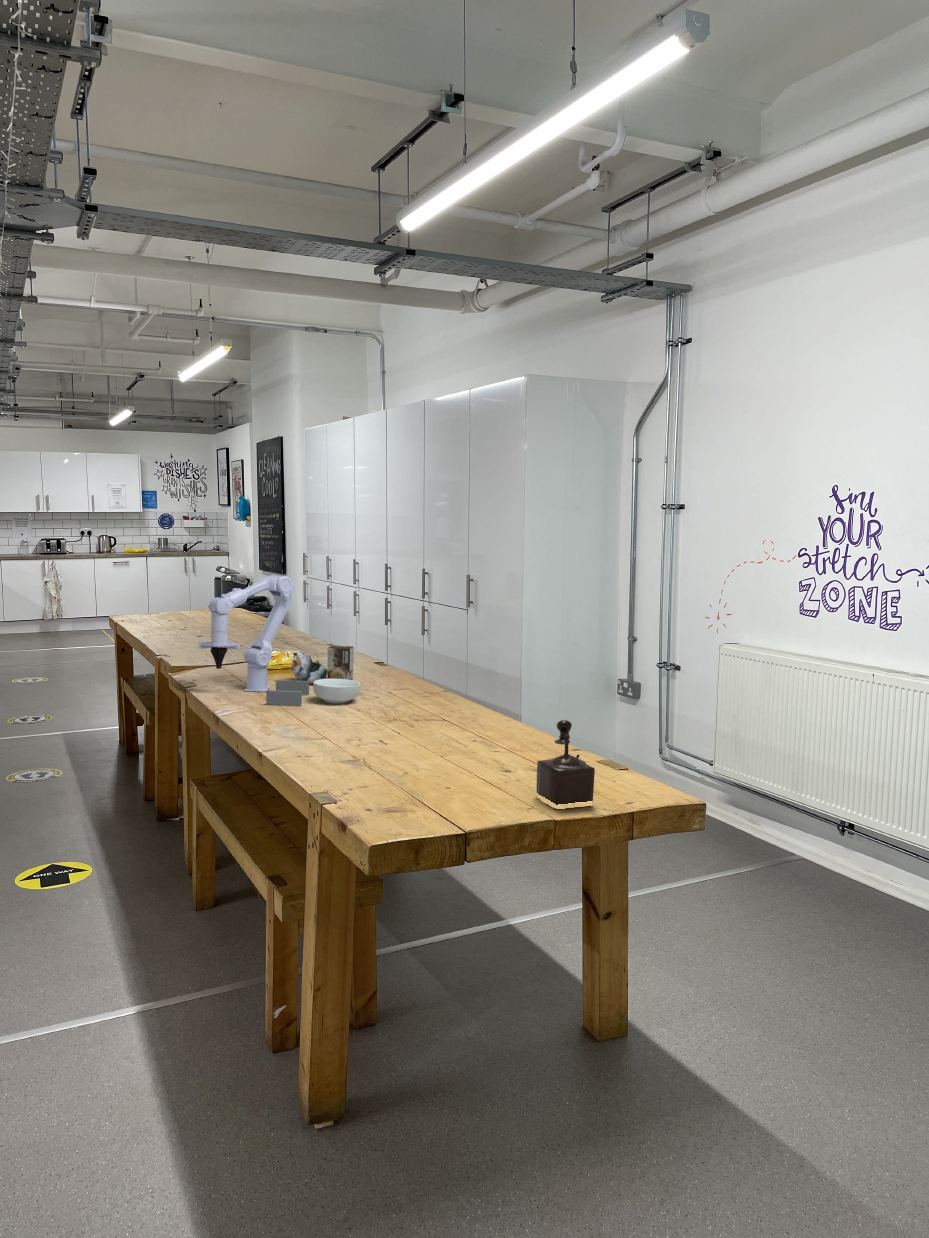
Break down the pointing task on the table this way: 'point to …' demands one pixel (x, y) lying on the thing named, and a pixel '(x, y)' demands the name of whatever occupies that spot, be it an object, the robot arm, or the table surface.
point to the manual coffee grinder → (565, 774)
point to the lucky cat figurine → (307, 668)
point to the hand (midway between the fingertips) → (218, 668)
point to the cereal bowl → (336, 690)
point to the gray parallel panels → (287, 693)
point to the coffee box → (340, 662)
